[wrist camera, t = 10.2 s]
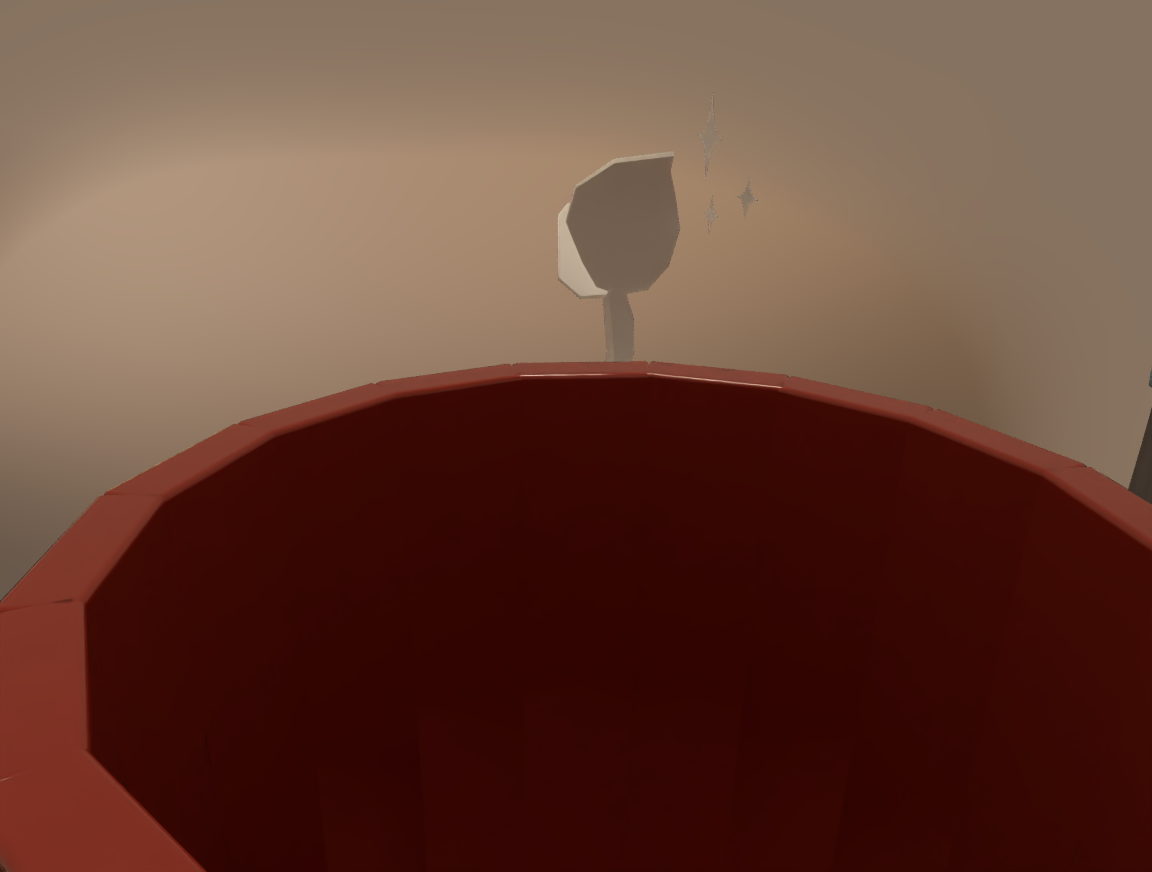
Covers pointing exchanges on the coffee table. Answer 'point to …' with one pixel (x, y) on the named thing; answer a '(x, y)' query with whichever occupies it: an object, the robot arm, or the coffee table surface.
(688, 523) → the red cup
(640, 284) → the potted plant
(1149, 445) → the robot arm
